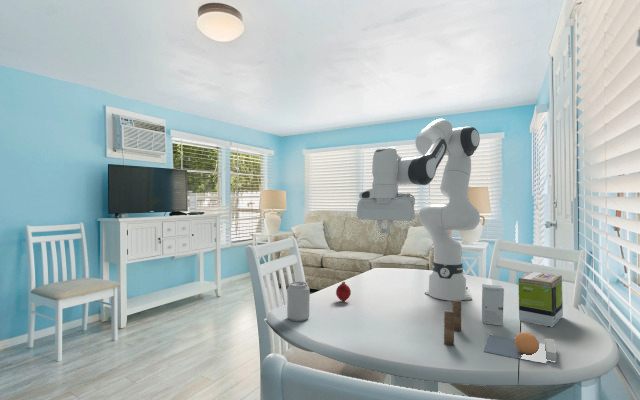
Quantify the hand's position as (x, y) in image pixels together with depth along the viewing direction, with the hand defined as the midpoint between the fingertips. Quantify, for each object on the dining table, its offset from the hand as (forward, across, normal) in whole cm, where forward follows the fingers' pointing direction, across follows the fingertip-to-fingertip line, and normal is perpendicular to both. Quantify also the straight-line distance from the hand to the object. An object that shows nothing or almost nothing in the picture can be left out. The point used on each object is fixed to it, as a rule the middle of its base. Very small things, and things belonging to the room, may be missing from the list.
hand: (385, 233), depth 122 cm
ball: (+26, -42, +10) cm, 51 cm away
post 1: (+29, -24, +14) cm, 40 cm away
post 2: (+29, -24, +1) cm, 37 cm away
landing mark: (+29, -40, +8) cm, 50 cm away
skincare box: (+29, -33, -12) cm, 45 cm away
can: (+29, +24, +18) cm, 42 cm away
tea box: (+29, -47, -25) cm, 61 cm away
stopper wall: (+29, -48, +8) cm, 56 cm away
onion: (+29, +20, -8) cm, 36 cm away
